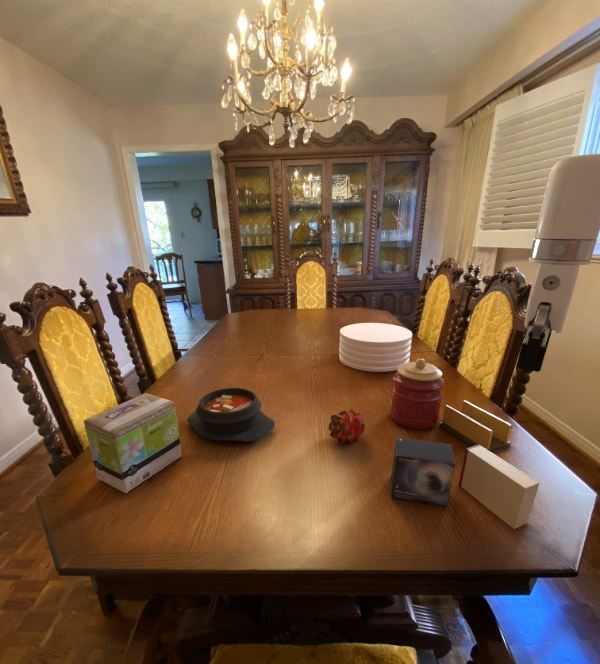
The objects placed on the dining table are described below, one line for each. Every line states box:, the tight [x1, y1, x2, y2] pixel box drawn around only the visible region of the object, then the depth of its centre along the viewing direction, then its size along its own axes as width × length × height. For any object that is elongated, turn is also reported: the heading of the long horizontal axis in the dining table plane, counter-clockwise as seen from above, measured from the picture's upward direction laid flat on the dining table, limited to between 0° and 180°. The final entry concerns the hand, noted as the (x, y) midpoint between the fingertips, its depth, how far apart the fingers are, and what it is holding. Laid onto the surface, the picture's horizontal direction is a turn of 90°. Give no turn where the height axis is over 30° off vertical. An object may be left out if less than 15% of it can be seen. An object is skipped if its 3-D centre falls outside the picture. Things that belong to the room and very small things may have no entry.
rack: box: [438, 400, 513, 453], centre depth 87 cm, size 9×14×6 cm, turn 23°
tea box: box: [83, 392, 183, 494], centre depth 75 cm, size 15×10×15 cm
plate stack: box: [338, 322, 413, 373], centre depth 139 cm, size 28×28×12 cm
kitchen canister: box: [389, 358, 446, 430], centre depth 93 cm, size 13×13×18 cm
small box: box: [390, 437, 457, 508], centre depth 67 cm, size 11×6×10 cm, turn 76°
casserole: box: [186, 387, 276, 443], centre depth 92 cm, size 25×19×8 cm
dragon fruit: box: [327, 409, 366, 444], centre depth 87 cm, size 8×8×12 cm
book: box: [458, 445, 540, 530], centre depth 65 cm, size 4×12×9 cm, turn 23°
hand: (531, 360), depth 58 cm, fingers open, 9 cm apart
